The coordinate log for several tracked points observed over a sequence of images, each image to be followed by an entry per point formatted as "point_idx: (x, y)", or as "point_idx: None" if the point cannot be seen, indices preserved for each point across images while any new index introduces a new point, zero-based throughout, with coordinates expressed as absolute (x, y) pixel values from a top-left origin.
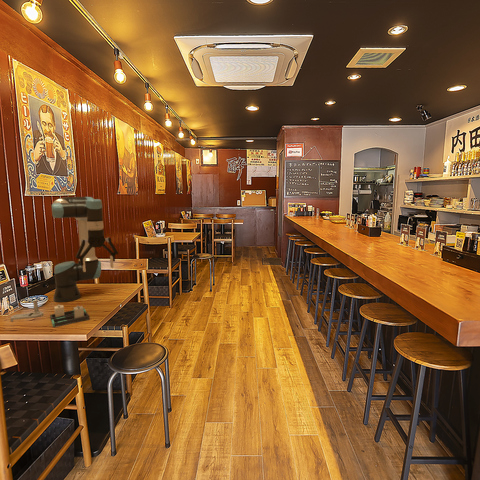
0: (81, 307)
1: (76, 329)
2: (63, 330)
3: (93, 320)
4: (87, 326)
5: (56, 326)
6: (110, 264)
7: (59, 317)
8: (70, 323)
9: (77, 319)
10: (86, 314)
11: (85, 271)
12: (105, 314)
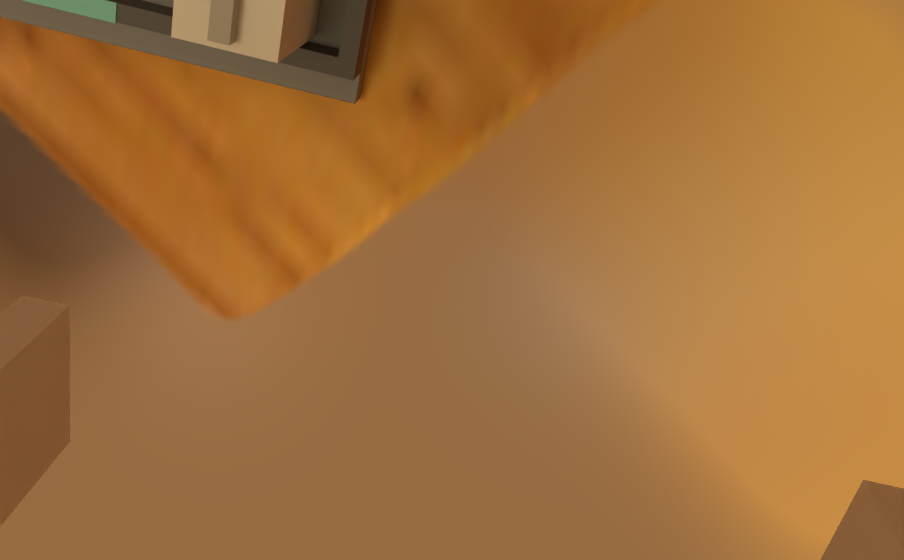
0: (265, 17)
1: (195, 181)
2: (90, 104)
3: (403, 86)
4: (297, 194)
5: (25, 7)
6: (900, 548)
7: None
8: (161, 43)
9: None
10: (349, 4)
11: (59, 444)
12: (586, 12)
